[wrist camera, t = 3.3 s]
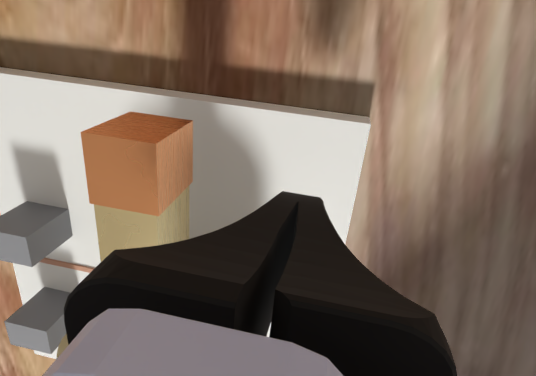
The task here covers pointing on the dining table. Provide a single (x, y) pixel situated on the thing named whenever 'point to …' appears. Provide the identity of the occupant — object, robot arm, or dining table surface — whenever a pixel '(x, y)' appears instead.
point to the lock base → (200, 190)
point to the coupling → (138, 181)
